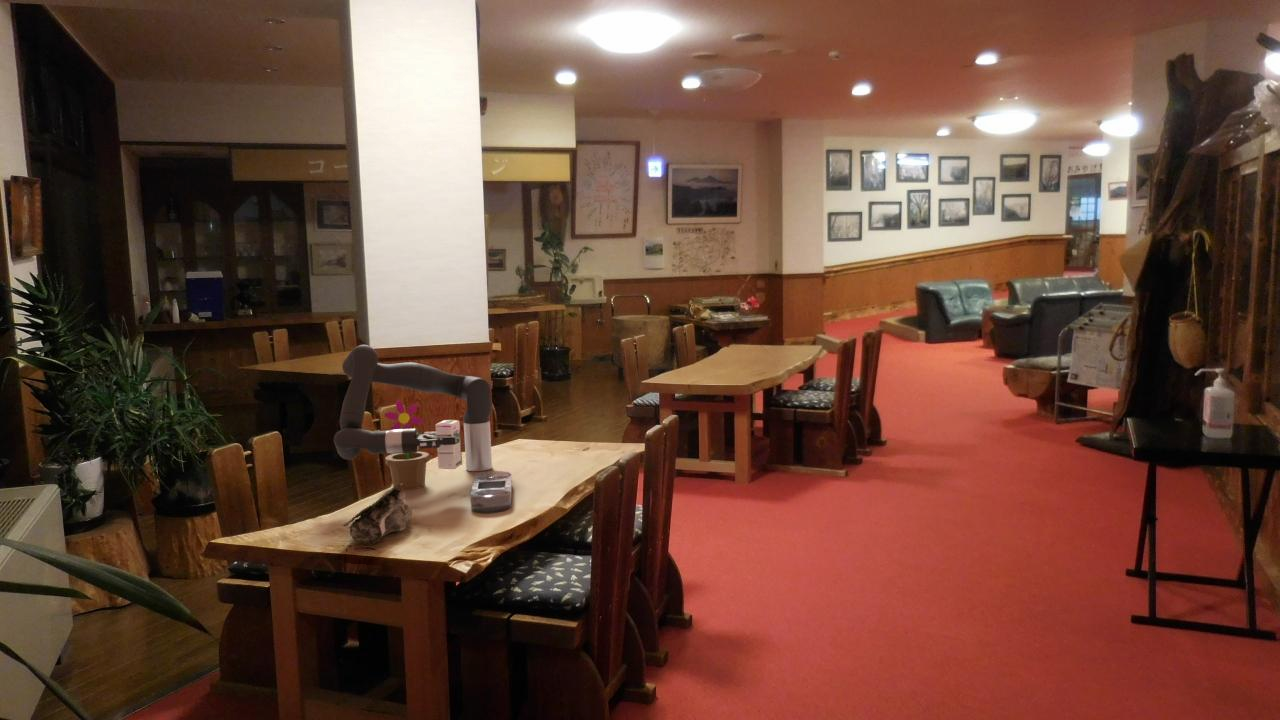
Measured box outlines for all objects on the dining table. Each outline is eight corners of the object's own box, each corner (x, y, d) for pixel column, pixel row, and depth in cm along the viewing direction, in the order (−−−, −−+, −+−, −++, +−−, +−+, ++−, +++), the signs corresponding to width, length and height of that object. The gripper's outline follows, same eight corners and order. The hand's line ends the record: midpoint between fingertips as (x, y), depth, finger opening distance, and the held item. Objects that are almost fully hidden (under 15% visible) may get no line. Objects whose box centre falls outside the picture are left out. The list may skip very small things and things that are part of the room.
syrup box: (455, 469, 280) (452, 423, 278) (437, 468, 281) (435, 423, 280) (462, 464, 286) (460, 419, 284) (445, 464, 287) (442, 419, 285)
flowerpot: (385, 493, 296) (379, 402, 292) (388, 482, 310) (382, 396, 306) (430, 489, 299) (425, 399, 295) (431, 478, 313) (426, 393, 309)
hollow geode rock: (361, 568, 238) (395, 530, 235) (326, 535, 238) (359, 496, 235) (406, 532, 265) (437, 497, 262) (374, 503, 266) (405, 467, 262)
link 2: (474, 493, 292) (473, 481, 291) (511, 490, 293) (511, 478, 293) (469, 514, 268) (469, 501, 267) (510, 511, 269) (510, 498, 269)
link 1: (511, 500, 281) (510, 488, 281) (472, 503, 280) (471, 490, 279) (512, 481, 305) (511, 470, 304) (476, 484, 303) (475, 472, 303)
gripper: (398, 433, 273) (453, 431, 275) (404, 424, 287) (457, 422, 289) (399, 458, 274) (454, 455, 276) (405, 447, 288) (458, 445, 290)
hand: (455, 438), depth 283 cm, fingers closed on syrup box, 7 cm apart
